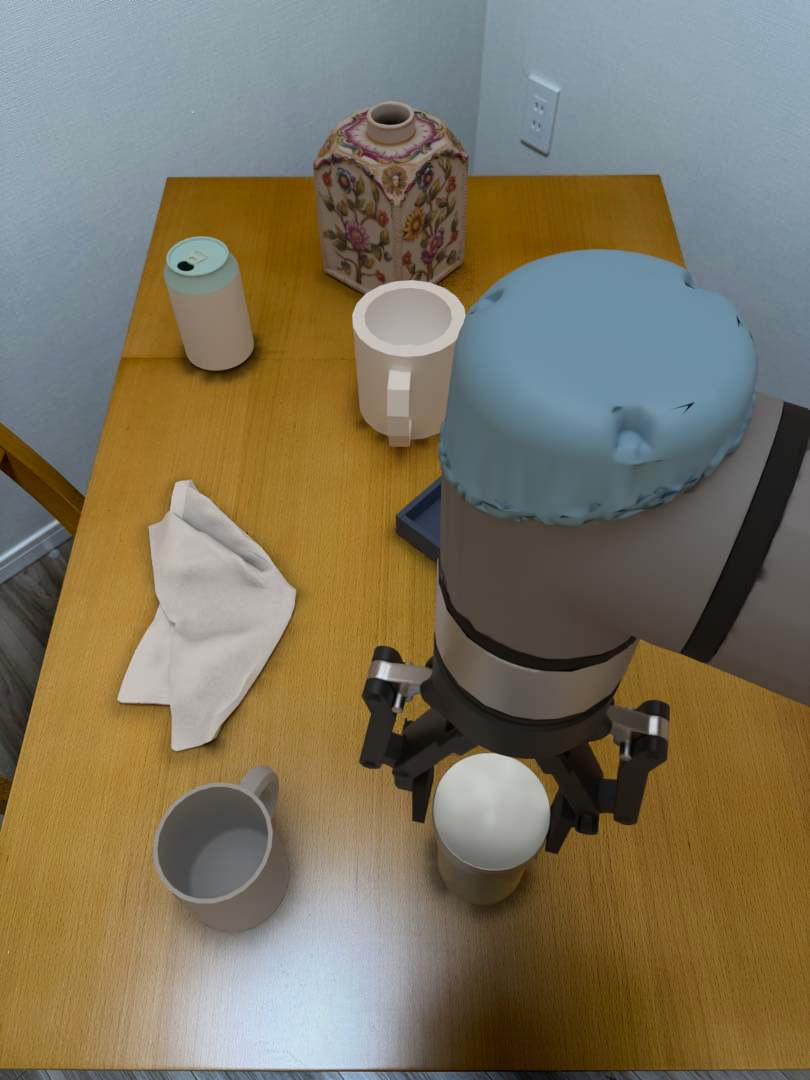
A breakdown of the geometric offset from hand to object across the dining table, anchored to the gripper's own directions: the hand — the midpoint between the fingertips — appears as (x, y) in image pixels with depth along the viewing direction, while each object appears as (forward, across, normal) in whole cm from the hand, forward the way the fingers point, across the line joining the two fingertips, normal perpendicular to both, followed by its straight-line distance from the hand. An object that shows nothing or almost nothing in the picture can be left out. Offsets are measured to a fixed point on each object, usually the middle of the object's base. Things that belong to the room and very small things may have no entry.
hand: (487, 815), depth 52 cm
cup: (+10, +16, +4) cm, 19 cm away
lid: (-1, 0, 0) cm, 1 cm away
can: (+10, +35, -45) cm, 58 cm away
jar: (+10, 0, 0) cm, 10 cm away
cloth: (+10, +25, -16) cm, 31 cm away
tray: (+10, +4, -28) cm, 29 cm away
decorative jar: (+10, +21, -62) cm, 66 cm away
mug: (+10, +14, -41) cm, 44 cm away
